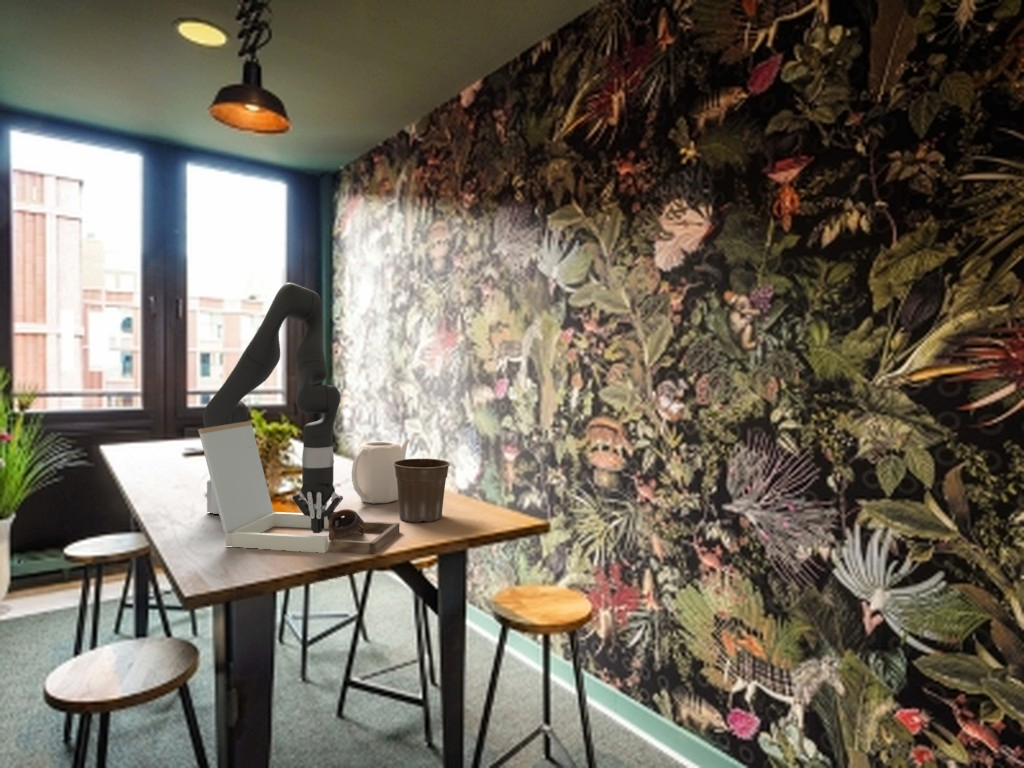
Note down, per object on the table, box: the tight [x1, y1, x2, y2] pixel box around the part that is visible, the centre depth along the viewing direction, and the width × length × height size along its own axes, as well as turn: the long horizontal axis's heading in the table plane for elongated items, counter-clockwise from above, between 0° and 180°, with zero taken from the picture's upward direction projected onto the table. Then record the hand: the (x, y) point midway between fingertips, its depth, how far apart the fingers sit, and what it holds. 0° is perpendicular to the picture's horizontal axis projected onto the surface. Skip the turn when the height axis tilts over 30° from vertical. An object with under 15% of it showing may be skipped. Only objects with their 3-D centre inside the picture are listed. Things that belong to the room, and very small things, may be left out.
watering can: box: [351, 438, 410, 505], centre depth 196 cm, size 16×27×19 cm, turn 150°
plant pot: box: [393, 458, 451, 523], centre depth 174 cm, size 16×16×16 cm
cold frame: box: [197, 420, 344, 554], centre depth 152 cm, size 32×21×28 cm, turn 82°
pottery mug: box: [327, 508, 365, 542], centre depth 153 cm, size 12×10×8 cm
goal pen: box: [330, 520, 400, 555], centre depth 150 cm, size 11×18×2 cm, turn 172°
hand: (317, 532), depth 151 cm, fingers closed
